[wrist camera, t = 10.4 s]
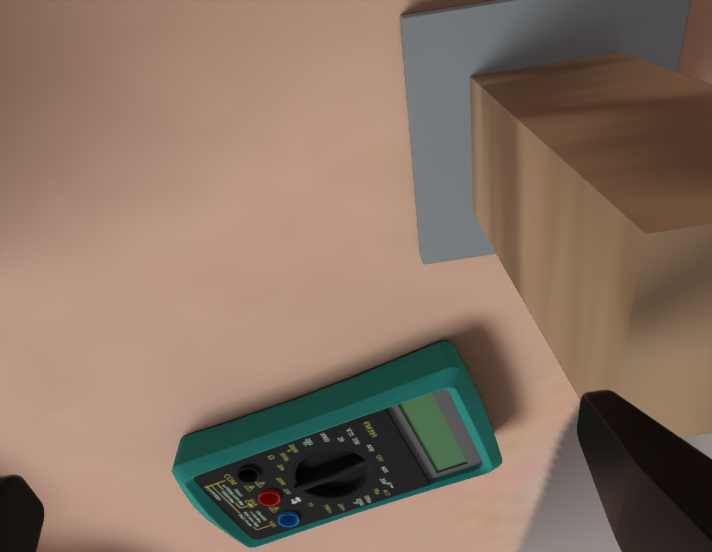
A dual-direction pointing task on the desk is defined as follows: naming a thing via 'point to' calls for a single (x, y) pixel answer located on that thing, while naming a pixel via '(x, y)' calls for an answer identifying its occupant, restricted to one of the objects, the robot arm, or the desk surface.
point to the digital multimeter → (341, 449)
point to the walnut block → (606, 222)
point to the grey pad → (495, 54)
